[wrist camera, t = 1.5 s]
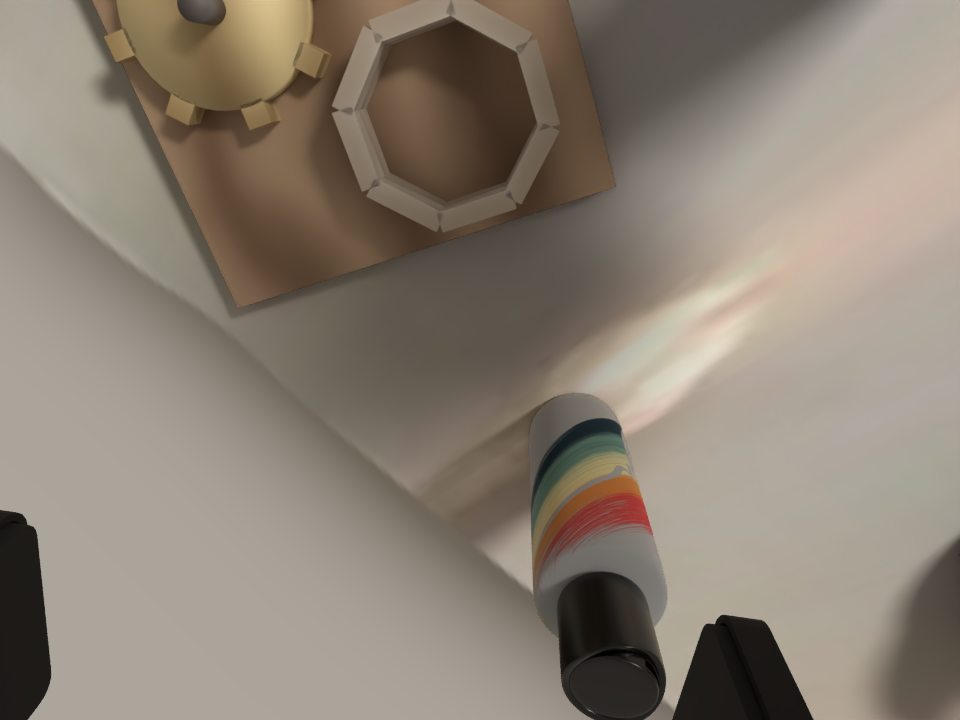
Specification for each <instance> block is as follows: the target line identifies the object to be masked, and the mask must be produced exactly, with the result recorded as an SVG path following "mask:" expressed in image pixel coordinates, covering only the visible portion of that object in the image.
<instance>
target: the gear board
mask: <svg viewBox="0 0 960 720" xmlns="http://www.w3.org/2000/svg"><path fill="white" fill-rule="evenodd" d="M92 2H93V4H94V6H95V8H96V10H97V12H98V14H99V16H100V18H101V21H102V23H103V25H104V27H105V29H106V31H107V33H108V35H107V36H104V38H105V40H106V42H107V45H108V47H109V49H110V51H111V53H112V55H113V57H114V59H115V61H116V63H122V65H123V67H124V69H125V71H126V73H127V75H128V77H129V80H130V82H131V84H132V86H133V88H134V90H135V92H136V94H137V96H138V98H139V101H140V103H141V105H142V107H143V109H144V111H145V113H146V115H147V117H148V120H149V122H150V124H151V126H152V128H153V130H154V132H155V134H156V136H157V138H158V141H159V143H160V145H161V147H162V149H163V151H164V153H165V155H166V157H167V160H168V162H169V164H170V166H171V168H172V170H173V172H174V174H175V176H176V179H177V181H178V183H179V185H180V187H181V189H182V191H183V193H184V195H185V197H186V200H187V202H188V204H189V206H190V208H191V210H192V212H193V214H194V216H195V219H196V221H197V223H198V225H199V227H200V229H201V231H202V233H203V235H204V237H205V240H206V242H207V244H208V246H209V248H210V250H211V252H212V254H213V256H214V259H215V261H216V263H217V265H218V267H219V269H220V271H221V273H222V275H223V278H224V280H225V282H226V284H227V286H228V288H229V290H230V292H231V294H232V296H233V299H234V301H235V303H236V305H237V307H238V308H240V307H244V306H247V305H250V304H253V303H256V302H259V301H262V300H265V299H268V298H272V297H275V296H278V295H281V294H284V293H287V292H290V291H293V290H296V289H300V288H303V287H306V286H309V285H312V284H315V283H318V282H321V281H325V280H328V279H331V278H334V277H337V276H340V275H343V274H346V273H349V272H353V271H356V270H359V269H362V268H365V267H368V266H371V265H374V264H377V263H381V262H384V261H387V260H390V259H393V258H396V257H399V256H402V255H405V254H409V253H412V252H415V251H418V250H421V249H424V248H427V247H430V246H433V245H437V244H440V243H443V242H446V241H449V240H452V239H455V238H458V237H461V236H465V235H468V234H471V233H474V232H477V231H480V230H483V229H486V228H489V227H493V226H496V225H499V224H502V223H505V222H508V221H511V220H514V219H518V218H521V217H524V216H527V215H530V214H533V213H536V212H539V211H542V210H546V209H549V208H552V207H555V206H558V205H561V204H564V203H567V202H570V201H574V200H577V199H580V198H583V197H586V196H589V195H592V194H595V193H598V192H602V191H605V190H608V189H611V188H614V187H616V184H615V180H614V176H613V172H612V168H611V165H610V161H609V157H608V153H607V149H606V145H605V141H604V137H603V133H602V130H601V126H600V122H599V118H598V114H597V110H596V106H595V102H594V98H593V94H592V91H591V87H590V83H589V79H588V75H587V71H586V67H585V63H584V59H583V56H582V52H581V48H580V44H579V40H578V36H577V32H576V28H575V24H574V20H573V17H572V13H571V9H570V5H569V1H568V0H92Z"/></svg>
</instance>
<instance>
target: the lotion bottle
mask: <svg viewBox="0 0 960 720" xmlns="http://www.w3.org/2000/svg"><path fill="white" fill-rule="evenodd" d="M529 464H530V500H531V536H532V570H533V593H534V602H535V606H536V610H537V613H538V615H539V617H540V619H541V621H542V622H543V624H544V625H545V626H546V628H548V630H549V631H550V632H551V633H553V634H554V635H555V636H557V637H558V638H559V653H560V668H561V682H562V687H563V690H564V692H565V694H566V696H567V698H568V699H569V701H570V702H571V703H572V704H573V705H574V706H575V707H576V708H577V709H578V710H579V711H581V712H582V713H584V714H585V715H587V716H588V717H590V718H592V719H594V720H644V719H645V718H647V717H648V716H650V715H651V714H652V713H653V712H654V711H655V710H656V708H657V707H658V706H659V704H660V702H661V700H662V698H663V695H664V692H665V687H666V674H665V669H664V665H663V661H662V657H661V653H660V649H659V645H658V641H657V637H656V633H655V630H654V627H655V626H656V625H657V624H658V622H659V621H660V619H661V617H662V616H663V613H664V611H665V608H666V604H667V585H666V580H665V576H664V572H663V568H662V564H661V561H660V557H659V554H658V550H657V547H656V544H655V540H654V537H653V533H652V530H651V526H650V523H649V520H648V516H647V513H646V509H645V506H644V503H643V499H642V496H641V492H640V489H639V485H638V482H637V479H636V475H635V472H634V468H633V465H632V462H631V458H630V455H629V451H628V448H627V444H626V441H625V438H624V435H623V431H622V428H621V426H620V423H619V421H618V418H617V416H616V415H615V413H614V412H613V410H612V409H611V408H610V407H609V406H608V405H607V404H606V403H604V402H603V401H601V400H600V399H598V398H596V397H593V396H590V395H586V394H579V393H573V394H566V395H562V396H559V397H556V398H554V399H552V400H550V401H549V402H547V403H546V404H545V405H543V406H542V407H541V408H540V410H539V411H538V412H537V414H536V415H535V417H534V419H533V421H532V424H531V427H530V434H529Z"/></svg>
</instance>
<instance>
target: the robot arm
mask: <svg viewBox="0 0 960 720" xmlns="http://www.w3.org/2000/svg"><path fill="white" fill-rule="evenodd" d="M50 679H51V665H50V655H49V645H48V636H47V627H46V616H45V607H44V597H43V587H42V578H41V568H40V558H39V548H38V539H37V533H36V530H35V529H34V527H32V526H29V525H27V521H26V519H25V517H24V516H23V515H22V514H20V513H16V512H9V511H2V510H0V720H28V718H29V717H30V716H31V715H32V713H33V712H34V711H35V709H36V708H37V707H38V705H39V704H40V703H41V701H42V699H43V698H44V696H45V694H46V692H47V690H48V687H49V684H50ZM672 720H813V718H812V716H811V714H810V711H809V709H808V707H807V705H806V703H805V701H804V699H803V697H802V695H801V693H800V691H799V689H798V687H797V684H796V682H795V680H794V678H793V676H792V674H791V672H790V670H789V668H788V666H787V664H786V662H785V660H784V657H783V655H782V653H781V651H780V649H779V647H778V645H777V643H776V641H775V639H774V637H773V635H772V632H771V630H770V628H769V627H768V625H767V624H766V623H765V622H764V621H762V620H756V619H749V618H743V617H736V616H729V615H721V616H720V617H719V618H718V619H717V621H716V623H715V624H706V625H705V626H704V627H703V630H702V632H701V635H700V638H699V641H698V644H697V647H696V650H695V653H694V656H693V659H692V662H691V665H690V668H689V671H688V674H687V677H686V680H685V683H684V686H683V689H682V692H681V695H680V698H679V701H678V704H677V707H676V710H675V713H674V716H673V719H672Z"/></svg>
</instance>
